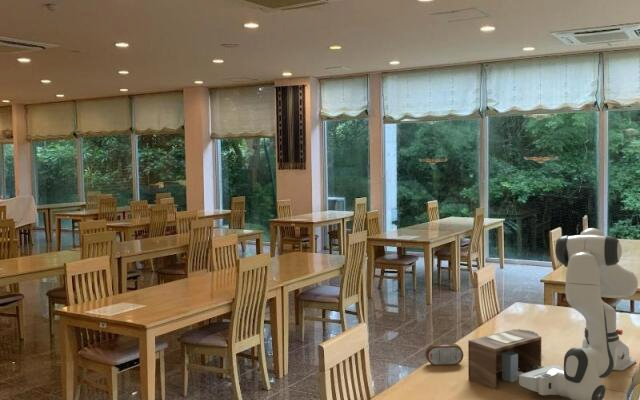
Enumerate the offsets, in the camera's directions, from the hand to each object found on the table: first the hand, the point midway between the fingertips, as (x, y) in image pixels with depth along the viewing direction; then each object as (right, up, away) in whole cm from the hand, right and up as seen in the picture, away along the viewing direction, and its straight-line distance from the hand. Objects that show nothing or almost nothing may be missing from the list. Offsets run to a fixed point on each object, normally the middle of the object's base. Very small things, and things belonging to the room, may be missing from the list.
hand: (525, 370), depth 232 cm
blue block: (-4, -5, +6) cm, 9 cm away
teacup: (+13, -3, +40) cm, 42 cm away
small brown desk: (-5, -5, +8) cm, 11 cm away
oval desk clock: (-25, -5, +24) cm, 35 cm away
